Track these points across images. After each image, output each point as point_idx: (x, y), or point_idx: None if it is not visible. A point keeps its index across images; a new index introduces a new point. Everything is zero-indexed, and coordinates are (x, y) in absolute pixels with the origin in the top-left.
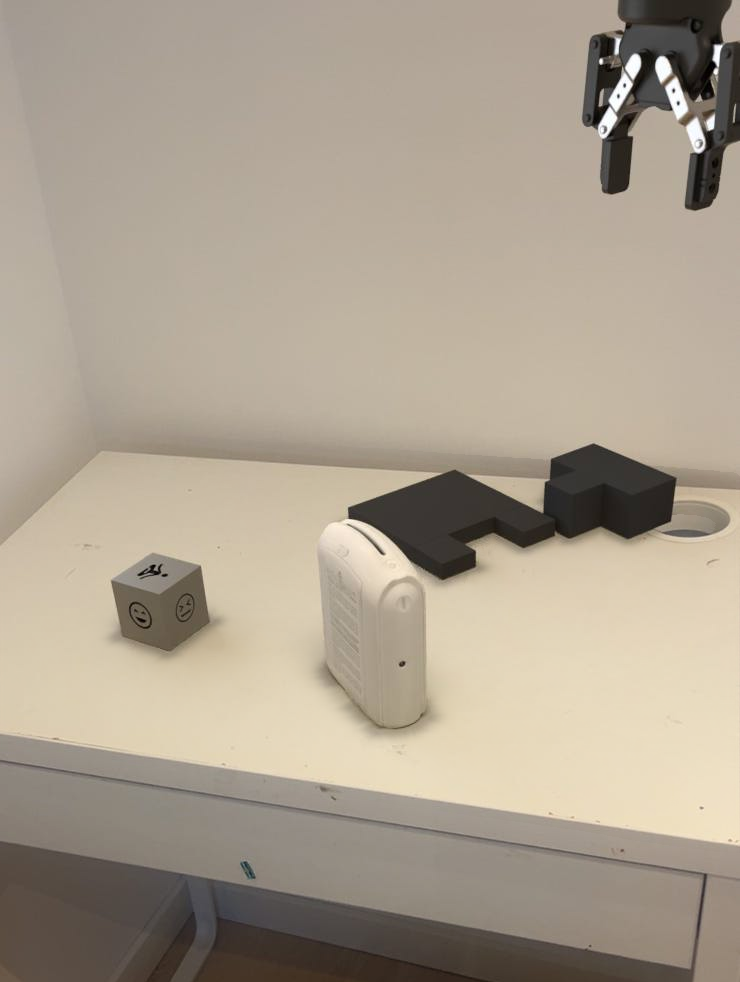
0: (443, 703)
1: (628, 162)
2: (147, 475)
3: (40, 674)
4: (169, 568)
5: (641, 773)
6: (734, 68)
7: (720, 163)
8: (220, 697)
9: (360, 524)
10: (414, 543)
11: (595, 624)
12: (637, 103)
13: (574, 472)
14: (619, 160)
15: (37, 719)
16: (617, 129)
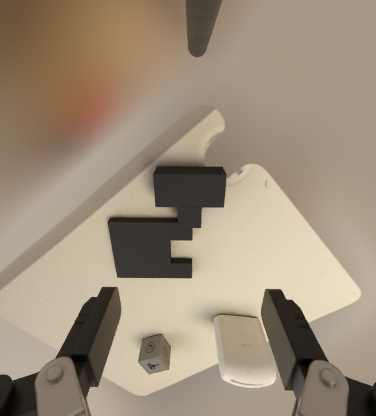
0: (257, 311)
1: (105, 319)
2: (19, 305)
3: None
4: (153, 362)
5: (329, 294)
6: None
7: (318, 347)
8: (205, 346)
9: (240, 382)
10: (168, 276)
11: (262, 253)
12: None
13: (179, 209)
14: (105, 339)
15: (180, 375)
16: (83, 397)
